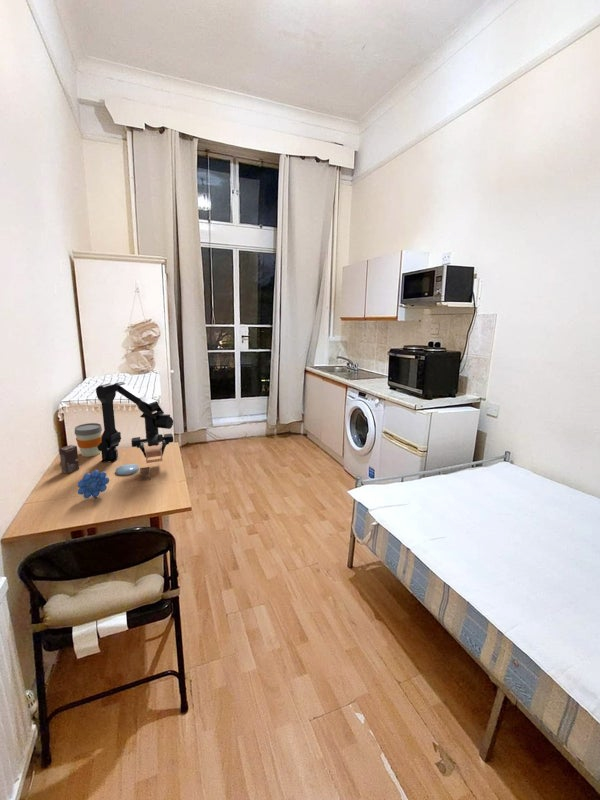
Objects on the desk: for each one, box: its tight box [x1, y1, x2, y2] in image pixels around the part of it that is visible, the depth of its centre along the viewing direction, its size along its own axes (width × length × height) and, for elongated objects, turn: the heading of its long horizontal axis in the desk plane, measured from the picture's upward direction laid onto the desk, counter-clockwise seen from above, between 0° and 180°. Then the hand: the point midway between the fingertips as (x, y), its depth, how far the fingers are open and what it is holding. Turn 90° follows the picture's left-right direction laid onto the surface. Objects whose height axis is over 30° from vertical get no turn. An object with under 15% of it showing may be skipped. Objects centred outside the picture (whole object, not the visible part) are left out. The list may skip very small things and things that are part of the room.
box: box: [58, 444, 80, 474], centre depth 168 cm, size 6×4×12 cm
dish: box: [115, 463, 140, 476], centre depth 171 cm, size 10×10×1 cm
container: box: [144, 443, 163, 464], centre depth 174 cm, size 7×7×6 cm
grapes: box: [77, 469, 110, 499], centre depth 146 cm, size 12×7×12 cm, turn 120°
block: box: [139, 466, 151, 482], centre depth 164 cm, size 4×4×4 cm
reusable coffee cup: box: [74, 422, 103, 457], centre depth 188 cm, size 12×12×15 cm
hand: (153, 456), depth 175 cm, fingers closed on container, 7 cm apart
